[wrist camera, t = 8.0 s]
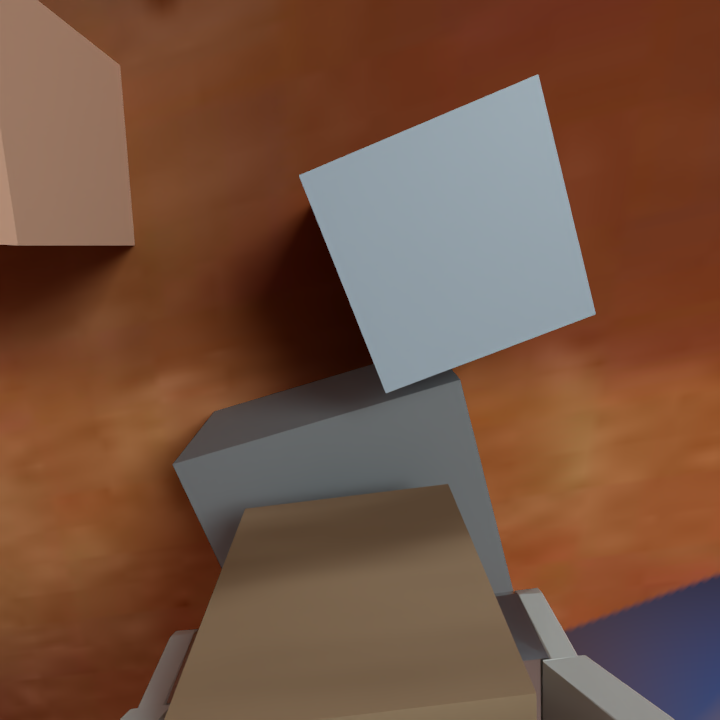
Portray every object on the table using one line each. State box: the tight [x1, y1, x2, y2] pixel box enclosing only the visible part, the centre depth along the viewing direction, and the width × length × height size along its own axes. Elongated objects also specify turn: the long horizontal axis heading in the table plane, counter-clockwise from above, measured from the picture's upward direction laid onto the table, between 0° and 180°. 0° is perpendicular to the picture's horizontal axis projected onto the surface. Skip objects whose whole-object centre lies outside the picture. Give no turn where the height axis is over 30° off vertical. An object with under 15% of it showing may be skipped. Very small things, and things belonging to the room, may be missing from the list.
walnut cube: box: [164, 484, 537, 720], centre depth 9 cm, size 5×5×5 cm
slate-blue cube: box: [299, 75, 596, 393], centre depth 11 cm, size 5×5×5 cm
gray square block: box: [173, 364, 513, 593], centre depth 14 cm, size 8×8×4 cm
